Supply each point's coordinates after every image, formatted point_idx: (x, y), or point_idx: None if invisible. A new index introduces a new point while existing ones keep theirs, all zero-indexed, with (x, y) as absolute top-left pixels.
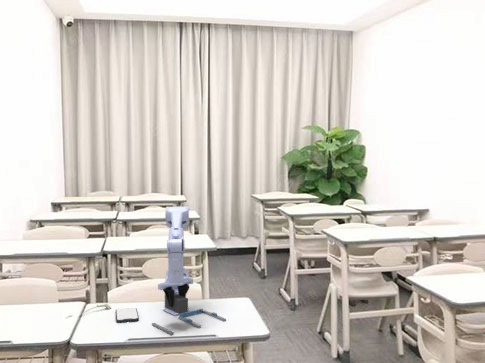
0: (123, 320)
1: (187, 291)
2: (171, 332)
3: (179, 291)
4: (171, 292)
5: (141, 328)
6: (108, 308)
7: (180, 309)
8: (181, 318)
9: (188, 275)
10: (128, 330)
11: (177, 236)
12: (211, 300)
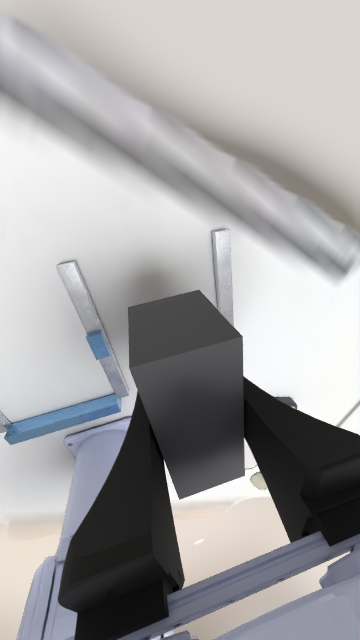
0: (285, 402)
1: (100, 490)
2: (223, 240)
3: (167, 499)
4: (332, 439)
5: (268, 345)
6: (260, 474)
7: (195, 302)
8: (122, 379)
9: None
10: (303, 343)
11: None
12: None
